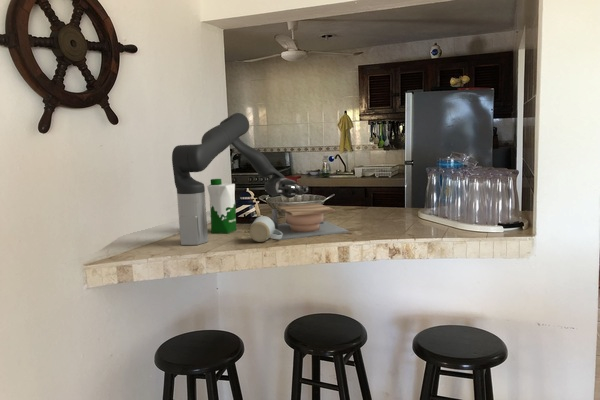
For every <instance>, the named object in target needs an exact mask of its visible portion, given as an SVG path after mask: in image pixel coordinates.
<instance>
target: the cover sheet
mask: <svg viewBox="0 0 600 400" xmlns="http://www.w3.org/2000/svg"><path fill="white" fill-rule="evenodd" d="M277 210H279V211H281V212H283V213H285V212H286V213H288V214H290V215H292V216H294V215H305V214H316V213H323V214H325V213H335V212H336V209H335V208H332V207H329V206H326V205H323V204H320V203H319V202H317V203H316V202H313V203H312V202H311V203H300V204H289V205H278V206H277Z"/></svg>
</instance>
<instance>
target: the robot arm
mask: <svg viewBox="0 0 600 400" xmlns="http://www.w3.org/2000/svg"><path fill="white" fill-rule="evenodd" d="M249 129H250V121H249V119H248V118H247V116H246V115H245V114H244V113H241V112H235V113H233V114H232V115H230V116H228V117H226V118H225V119H223V120H222V121H220V123H219V124H218V125H216V126H214V127H212V128H210V129H208V130H207V131H206V132H204V134H203V135H202V137H201V143H198V144H179V145H176V146H174V147H173V150H172V154H171V163H172V165H171V166H172V171H173V179H174V184H175V185H174V186H175V189H176V196H177V198H176V199H177V212H178V213H177V214H178V226H179V238H180V239H179V240H180V245H181V246H196V245H197V246H199V245H201V244H205V243H208V242H209V237H208V236H209V234H208V219H207V206H206V203H207V202H206V192H205V191H206V187H205V184H204V183H203V182H201V181H198V180H196V179H195V178H193V177H192V176H191V173H199V172H203V171H205V170H206V169H207V168H208V167H209V166H210V164H211V163H212V162H213V161H214V159H215V158H216V157H218V155H220V154H221V153H223V152H224V151H225V150H227V149H228V147H229V146H230V145H232V146H233V147H234V149H235V150H237V151H238V152H239V153H240V155H242V156H243V157H244V158H245V159H246V160H247V161H248V162H249V164H250V165H251V166H252V168H253V169H254V171H256V173H257V174H258V175H259V177H260V178H267V177H269V176H271V175H273V176H271V177H270V178H269V179H268V180H267V181H265V183H264V191H265V192H266V193H267V194H268V195H269V196H273V197H276V196H279V195H280V196H281V197H285V198H287V199H292V198H294V197H296V196H302V195H303V194H306V193H309V185H303V186H302V185H299V184H298V183H297V181H296V180H294V179H292V178H291V179H290V178H287V177H286V176H285V175H284V174H282V172H279V171H278V170H277V169H276V168H275V167H274V166H273V165H272V164H271V162H270V161H269V159H268V158H267V157H266V155H265V154H264V153H263V152H261V151H260V150H258V149H255V148H253V147H251V146H250V145H248V144H247V143H245V142H244V141H242V139H241V138H240V137H242V136H243V135H245V134H247V133H248V132H249Z"/></svg>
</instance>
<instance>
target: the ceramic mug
mask: <svg viewBox="0 0 600 400" xmlns="http://www.w3.org/2000/svg"><path fill="white" fill-rule="evenodd" d="M273 233H274V234H273ZM275 234H277V235H275ZM249 235H250V238H251V239H252V240H253V241H255V242H257V243H263V242H266V241H267V240H268V239H269V238H271V239H274V240H279V239H281V238H282V235H283V234H282V232H280V231H278V230H276V229H275V225H274V222H273V221H272V218H270V217H269V216H265V215H262V216H258V217H256V218H255V219H254V221H253V222H252V223H251V225H250V227H249Z"/></svg>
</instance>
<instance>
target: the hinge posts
mask: <svg viewBox="0 0 600 400" xmlns="http://www.w3.org/2000/svg"><path fill="white" fill-rule="evenodd" d="M271 220H272V221H273V222H274V225H275V229H277V228H278V224H279V223H278V208H271ZM319 224H323V222H321V223H319Z"/></svg>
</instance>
